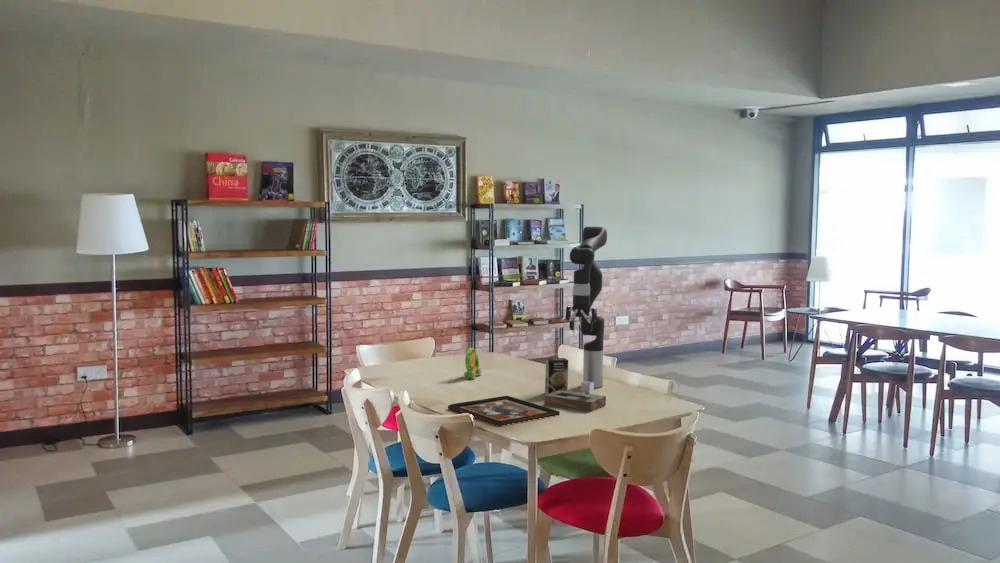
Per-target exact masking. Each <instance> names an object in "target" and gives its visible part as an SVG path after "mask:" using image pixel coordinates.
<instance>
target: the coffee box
mask: <svg viewBox="0 0 1000 563" xmlns="http://www.w3.org/2000/svg"><path fill="white" fill-rule="evenodd" d="M544 377H545V378H544V379H545V381H544V383H545V384H544V393H545V395H547V394H550V393H553V392H556V391H559V390H565V391H569V390H568V384H569V359H567V358H564V357H563V358H562V357H560V358H559V357H557V358H555V357H554V358H553V357H551V358H547V357H546V358H545V376H544Z"/></svg>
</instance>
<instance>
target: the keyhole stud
mask: <svg viewBox="0 0 1000 563" xmlns="http://www.w3.org/2000/svg"><path fill="white" fill-rule="evenodd" d="M594 391H595V388H594V382H589V381H584V382H583V381H582V382H581V383H580V393H585V398H587V399H588V398H590V394H592V393H593V392H594Z"/></svg>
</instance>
